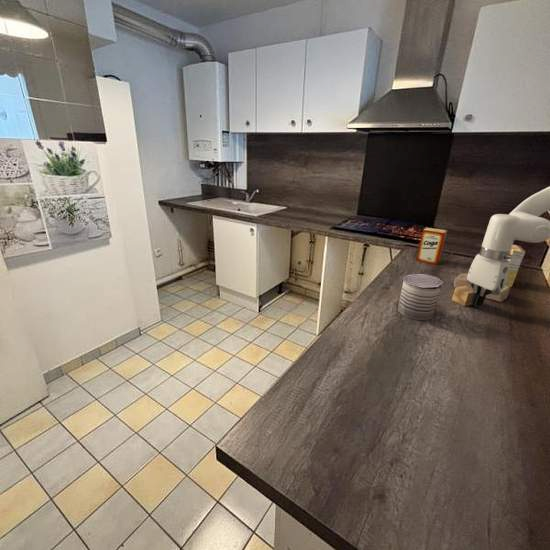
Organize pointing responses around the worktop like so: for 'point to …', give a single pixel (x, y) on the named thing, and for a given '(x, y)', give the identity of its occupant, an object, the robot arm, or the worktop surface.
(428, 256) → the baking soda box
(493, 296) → the brick
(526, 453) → the worktop surface
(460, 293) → the beech block
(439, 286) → the can
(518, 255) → the candy box
